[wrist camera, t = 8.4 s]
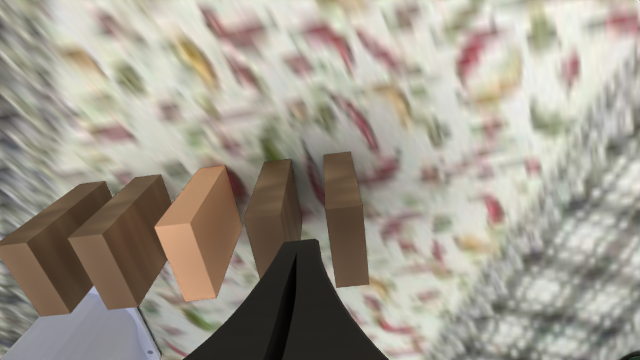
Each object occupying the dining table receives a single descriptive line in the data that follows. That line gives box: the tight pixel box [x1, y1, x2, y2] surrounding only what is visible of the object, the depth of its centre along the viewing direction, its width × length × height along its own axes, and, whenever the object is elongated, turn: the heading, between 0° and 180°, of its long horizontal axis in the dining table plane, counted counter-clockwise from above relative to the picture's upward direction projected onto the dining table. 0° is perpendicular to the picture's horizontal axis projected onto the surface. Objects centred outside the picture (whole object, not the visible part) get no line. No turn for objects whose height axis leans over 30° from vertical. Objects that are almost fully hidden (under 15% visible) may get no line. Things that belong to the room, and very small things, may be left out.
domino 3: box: [154, 165, 242, 301], centre depth 21 cm, size 2×5×7 cm, turn 7°
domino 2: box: [68, 174, 172, 310], centre depth 21 cm, size 2×5×7 cm, turn 7°
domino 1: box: [0, 181, 112, 317], centre depth 21 cm, size 2×5×7 cm, turn 7°
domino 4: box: [243, 159, 302, 279], centre depth 21 cm, size 2×5×7 cm, turn 7°
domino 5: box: [324, 152, 369, 288], centre depth 20 cm, size 2×5×7 cm, turn 7°
